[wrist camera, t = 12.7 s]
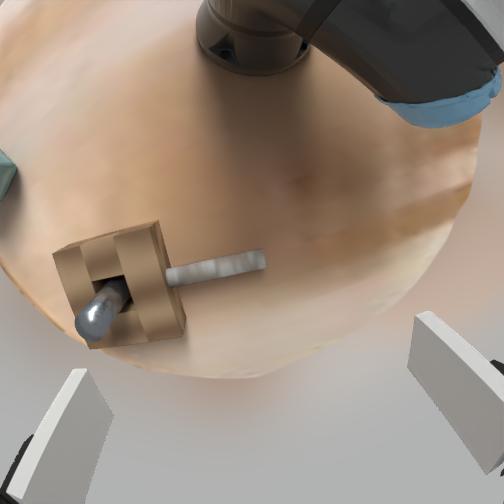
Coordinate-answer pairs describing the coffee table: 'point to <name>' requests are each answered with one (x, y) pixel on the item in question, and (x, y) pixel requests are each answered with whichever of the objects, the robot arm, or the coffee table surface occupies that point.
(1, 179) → the flower pot
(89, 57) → the coffee table surface
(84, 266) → the block
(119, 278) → the grey metal peg
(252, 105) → the coffee table surface
